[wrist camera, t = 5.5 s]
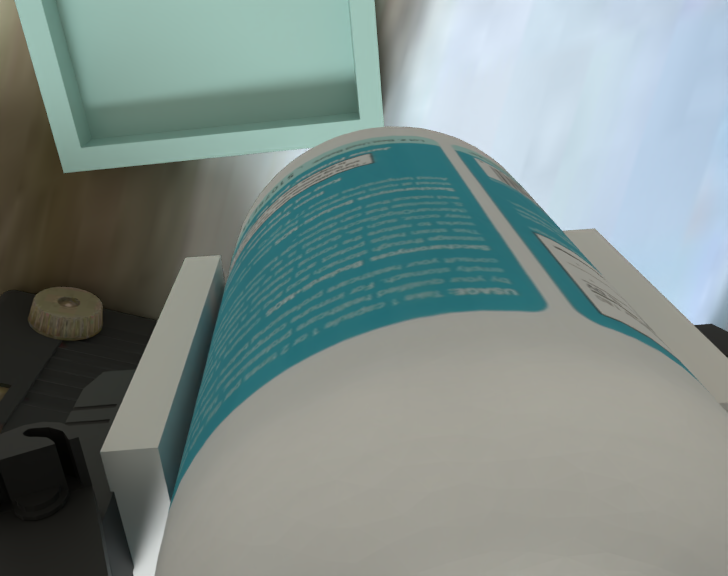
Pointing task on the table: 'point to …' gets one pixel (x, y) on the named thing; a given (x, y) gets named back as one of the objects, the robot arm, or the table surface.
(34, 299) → the camera
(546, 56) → the table surface
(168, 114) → the tray
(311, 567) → the pill bottle
